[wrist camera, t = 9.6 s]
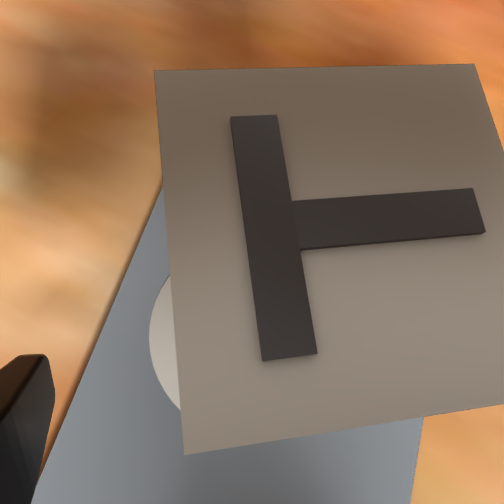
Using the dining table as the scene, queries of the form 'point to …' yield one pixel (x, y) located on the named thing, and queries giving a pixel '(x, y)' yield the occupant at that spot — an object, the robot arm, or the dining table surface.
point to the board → (170, 426)
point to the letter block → (331, 247)
